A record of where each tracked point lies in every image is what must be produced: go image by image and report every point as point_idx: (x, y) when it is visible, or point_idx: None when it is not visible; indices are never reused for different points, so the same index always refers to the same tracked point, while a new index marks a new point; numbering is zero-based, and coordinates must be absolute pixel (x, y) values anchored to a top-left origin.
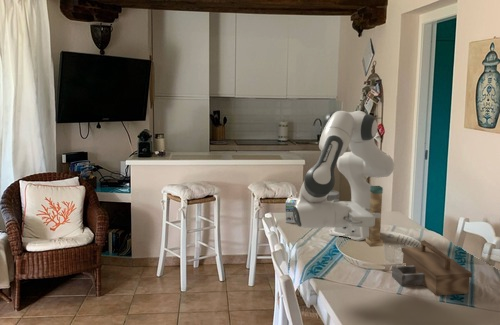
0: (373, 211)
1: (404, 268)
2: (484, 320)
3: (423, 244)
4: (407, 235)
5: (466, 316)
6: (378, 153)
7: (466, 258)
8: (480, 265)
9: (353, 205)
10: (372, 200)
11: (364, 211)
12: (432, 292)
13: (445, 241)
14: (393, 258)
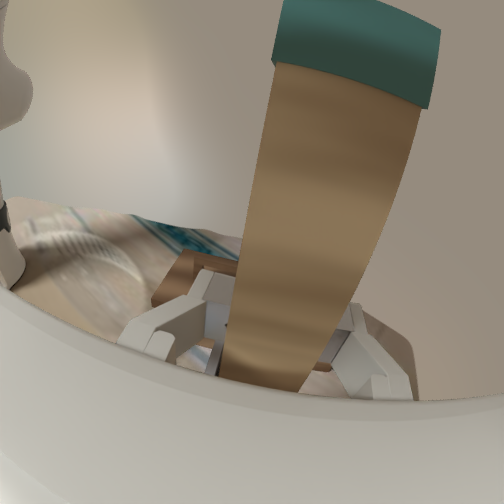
0: (331, 333)
1: (219, 359)
2: (413, 353)
3: (207, 265)
4: (64, 230)
5: (405, 369)
6: (6, 61)
7: (192, 235)
8: (226, 240)
9: (24, 408)
10: (345, 211)
11: (428, 450)
12: (315, 369)
13: (123, 215)
14: (111, 316)
